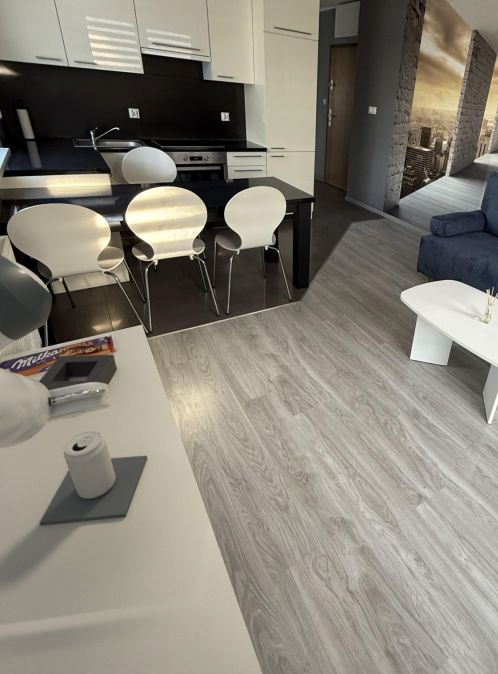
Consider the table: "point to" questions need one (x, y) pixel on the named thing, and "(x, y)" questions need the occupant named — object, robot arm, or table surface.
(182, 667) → the table surface
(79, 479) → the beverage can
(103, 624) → the table surface
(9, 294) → the robot arm
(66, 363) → the blender base
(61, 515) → the mat
